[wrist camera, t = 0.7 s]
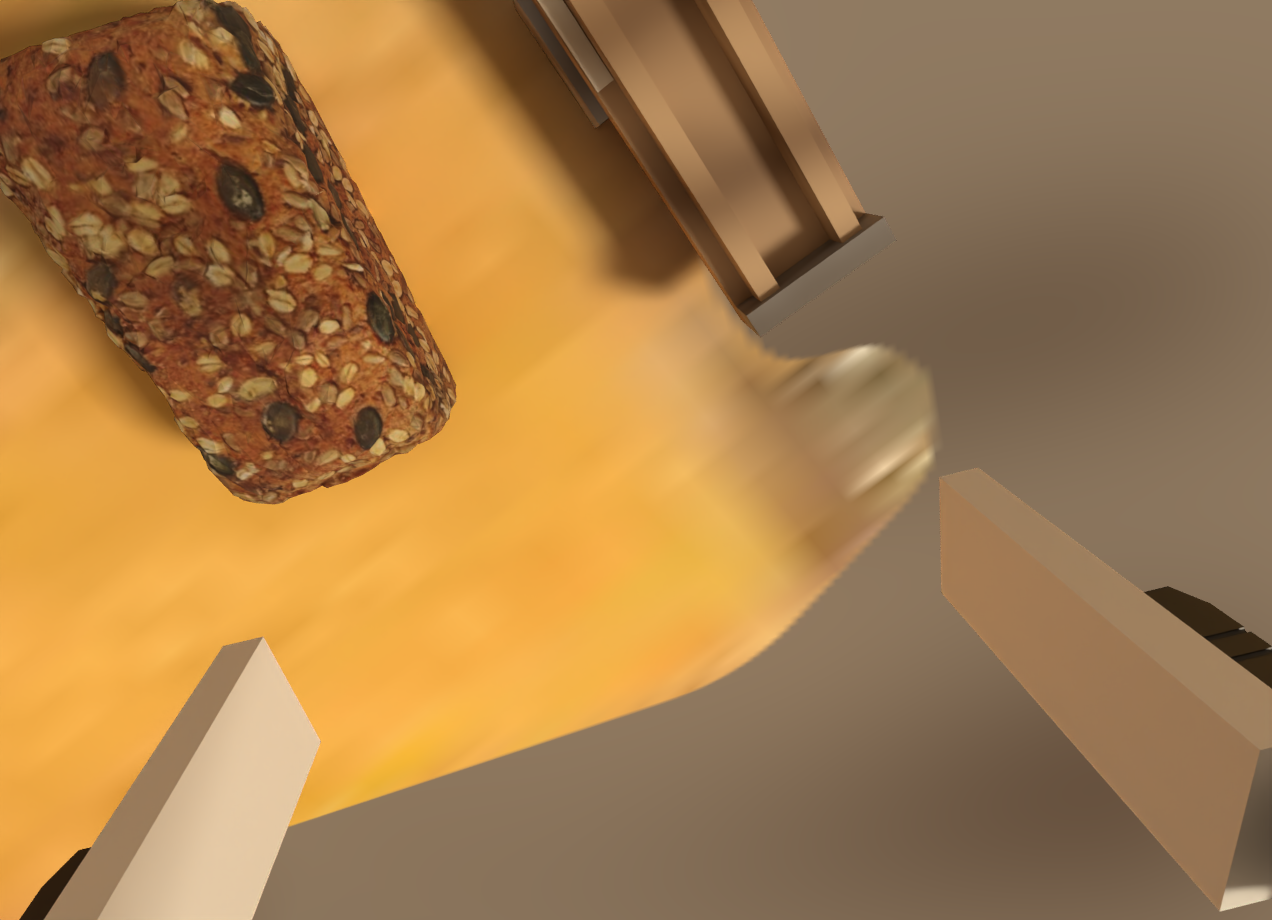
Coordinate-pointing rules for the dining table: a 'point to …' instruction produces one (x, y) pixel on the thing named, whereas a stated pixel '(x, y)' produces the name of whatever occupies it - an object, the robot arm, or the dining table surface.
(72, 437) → the dining table surface
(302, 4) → the dining table surface
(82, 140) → the bread
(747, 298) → the beam
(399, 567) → the dining table surface
